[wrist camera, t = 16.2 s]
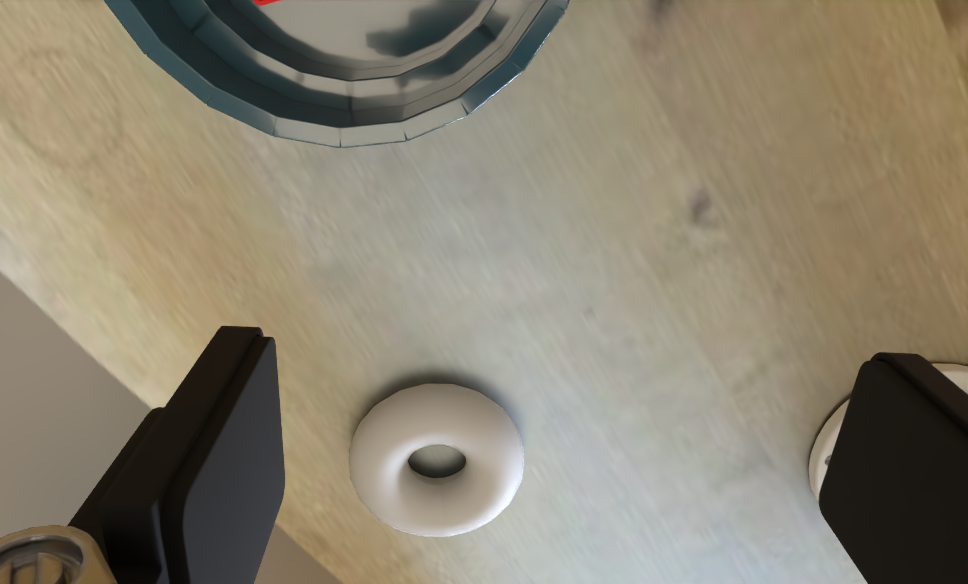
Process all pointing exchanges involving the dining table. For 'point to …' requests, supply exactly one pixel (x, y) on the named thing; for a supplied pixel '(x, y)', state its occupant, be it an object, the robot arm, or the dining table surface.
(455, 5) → the bowl
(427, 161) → the dining table surface
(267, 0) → the french fries
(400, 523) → the donut
